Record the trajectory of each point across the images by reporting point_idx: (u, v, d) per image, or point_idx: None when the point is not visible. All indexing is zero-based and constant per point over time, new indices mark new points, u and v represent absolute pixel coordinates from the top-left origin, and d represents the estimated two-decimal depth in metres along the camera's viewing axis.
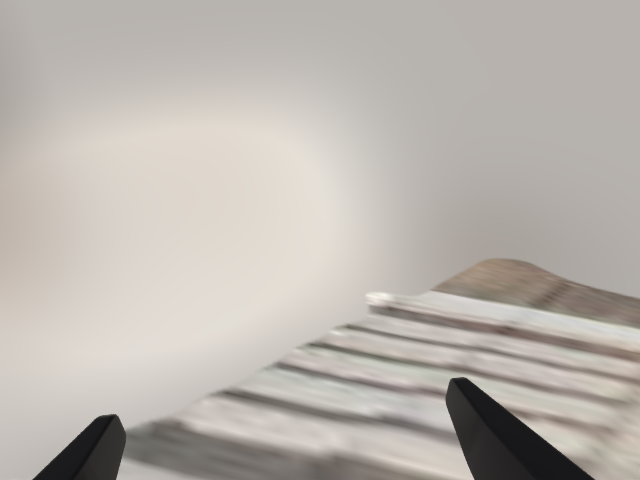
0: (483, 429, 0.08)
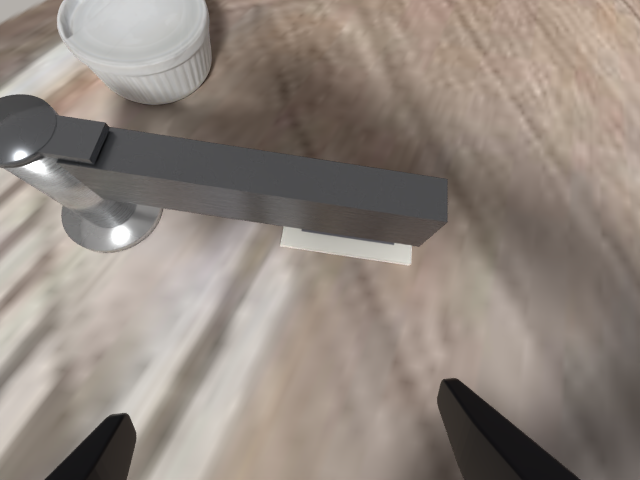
0: (473, 430, 0.08)
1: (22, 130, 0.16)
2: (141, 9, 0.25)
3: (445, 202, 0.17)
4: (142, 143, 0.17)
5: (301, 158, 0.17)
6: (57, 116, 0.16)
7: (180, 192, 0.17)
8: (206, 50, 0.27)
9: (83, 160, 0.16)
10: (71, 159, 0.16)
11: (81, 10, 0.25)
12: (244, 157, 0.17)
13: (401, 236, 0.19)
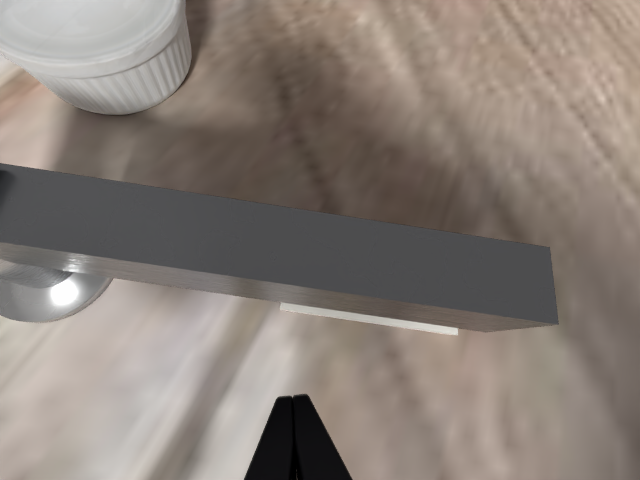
0: (296, 452, 0.07)
1: None
2: None
3: (551, 288, 0.10)
4: (53, 190, 0.10)
5: (315, 215, 0.10)
6: None
7: (119, 267, 0.11)
8: (182, 44, 0.20)
9: None
10: None
11: None
12: (222, 214, 0.10)
13: (465, 324, 0.12)
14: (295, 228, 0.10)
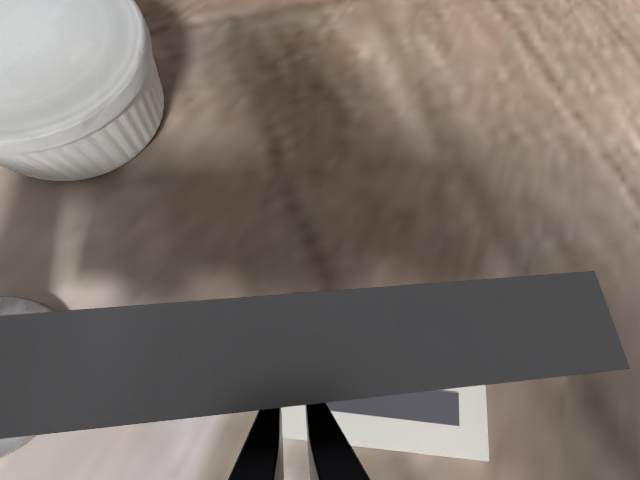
0: (311, 450, 0.07)
1: None
2: (30, 34, 0.15)
3: (610, 324, 0.08)
4: None
5: (310, 297, 0.08)
6: None
7: None
8: (149, 97, 0.17)
9: None
10: None
11: None
12: (188, 326, 0.07)
13: None
14: (289, 322, 0.08)
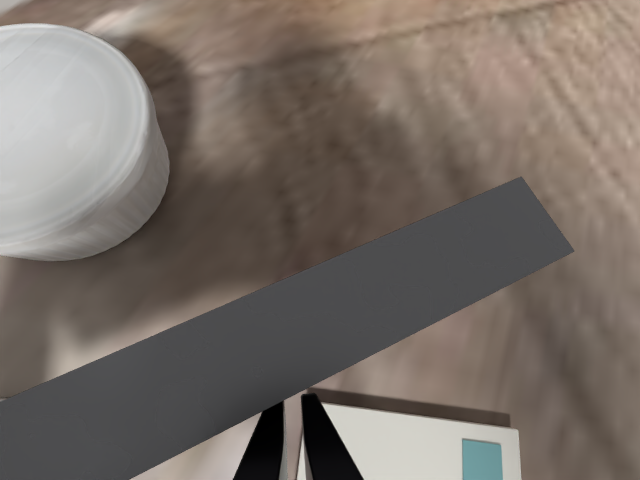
0: (305, 451, 0.07)
1: None
2: (23, 115, 0.13)
3: (547, 218, 0.09)
4: None
5: (274, 288, 0.08)
6: None
7: None
8: (154, 173, 0.15)
9: None
10: None
11: None
12: (161, 359, 0.07)
13: None
14: (262, 319, 0.08)
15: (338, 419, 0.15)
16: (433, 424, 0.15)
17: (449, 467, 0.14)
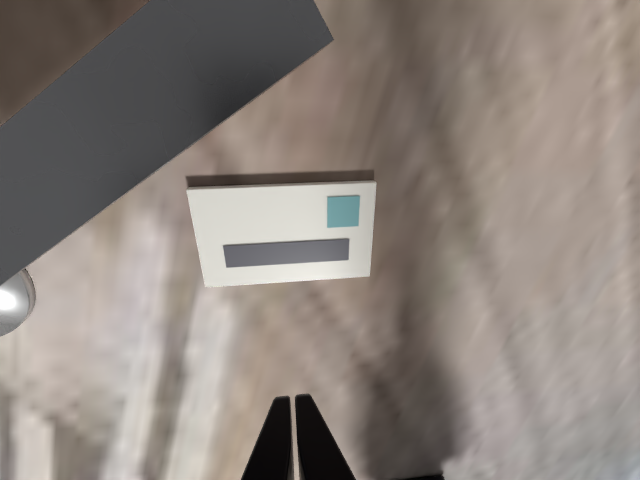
0: (299, 452, 0.07)
1: None
2: None
3: None
4: None
5: None
6: None
7: None
8: None
9: None
10: None
11: None
12: None
13: (278, 81, 0.10)
14: None
15: (218, 199, 0.17)
16: (302, 190, 0.17)
17: (316, 217, 0.18)
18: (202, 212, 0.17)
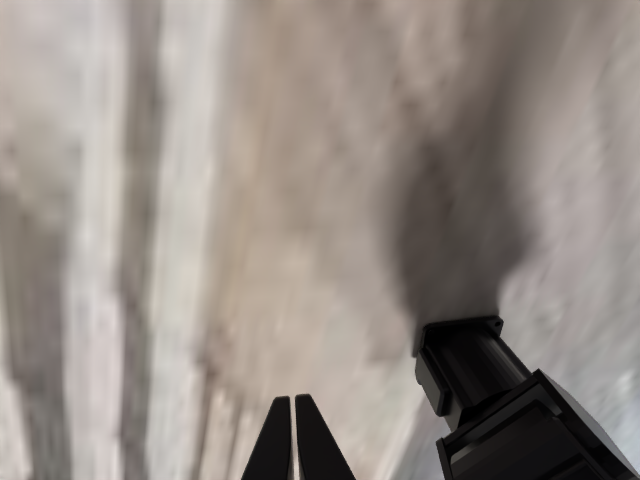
0: (299, 452, 0.07)
1: None
2: None
3: None
4: None
5: None
6: None
7: None
8: None
9: None
10: None
11: None
12: None
13: None
14: None
15: None
16: None
17: None
18: None
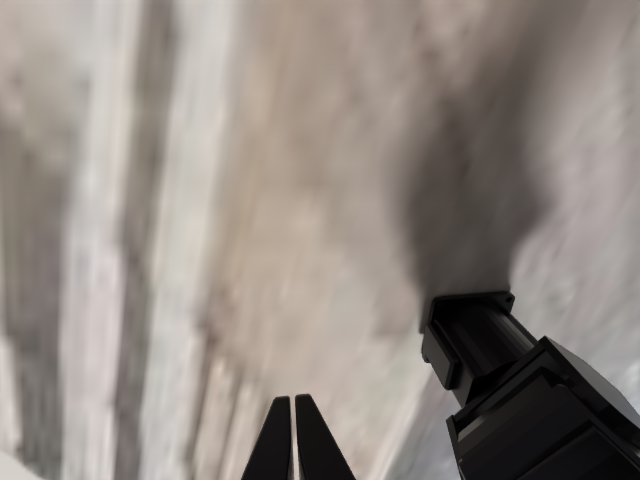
0: (299, 452, 0.07)
1: None
2: None
3: None
4: None
5: None
6: None
7: None
8: None
9: None
10: None
11: None
12: None
13: None
14: None
15: None
16: None
17: None
18: None
